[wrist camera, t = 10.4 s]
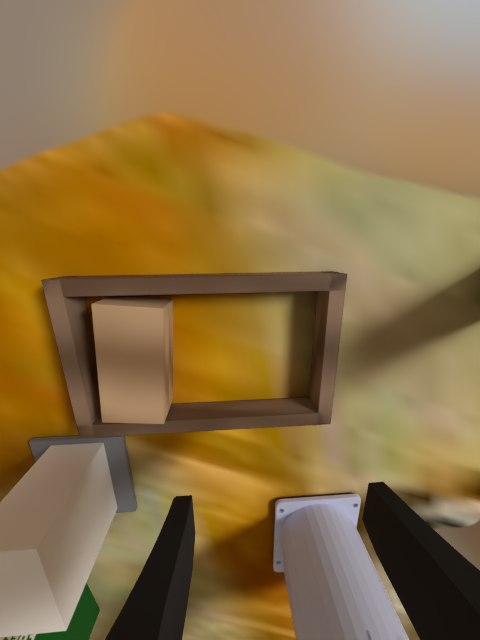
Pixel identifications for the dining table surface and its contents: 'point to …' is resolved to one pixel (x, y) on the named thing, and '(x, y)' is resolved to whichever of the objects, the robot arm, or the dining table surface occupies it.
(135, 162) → the dining table surface
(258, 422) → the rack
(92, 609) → the milk carton
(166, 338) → the tan rectangular block
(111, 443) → the mat
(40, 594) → the cream rectangular prism
